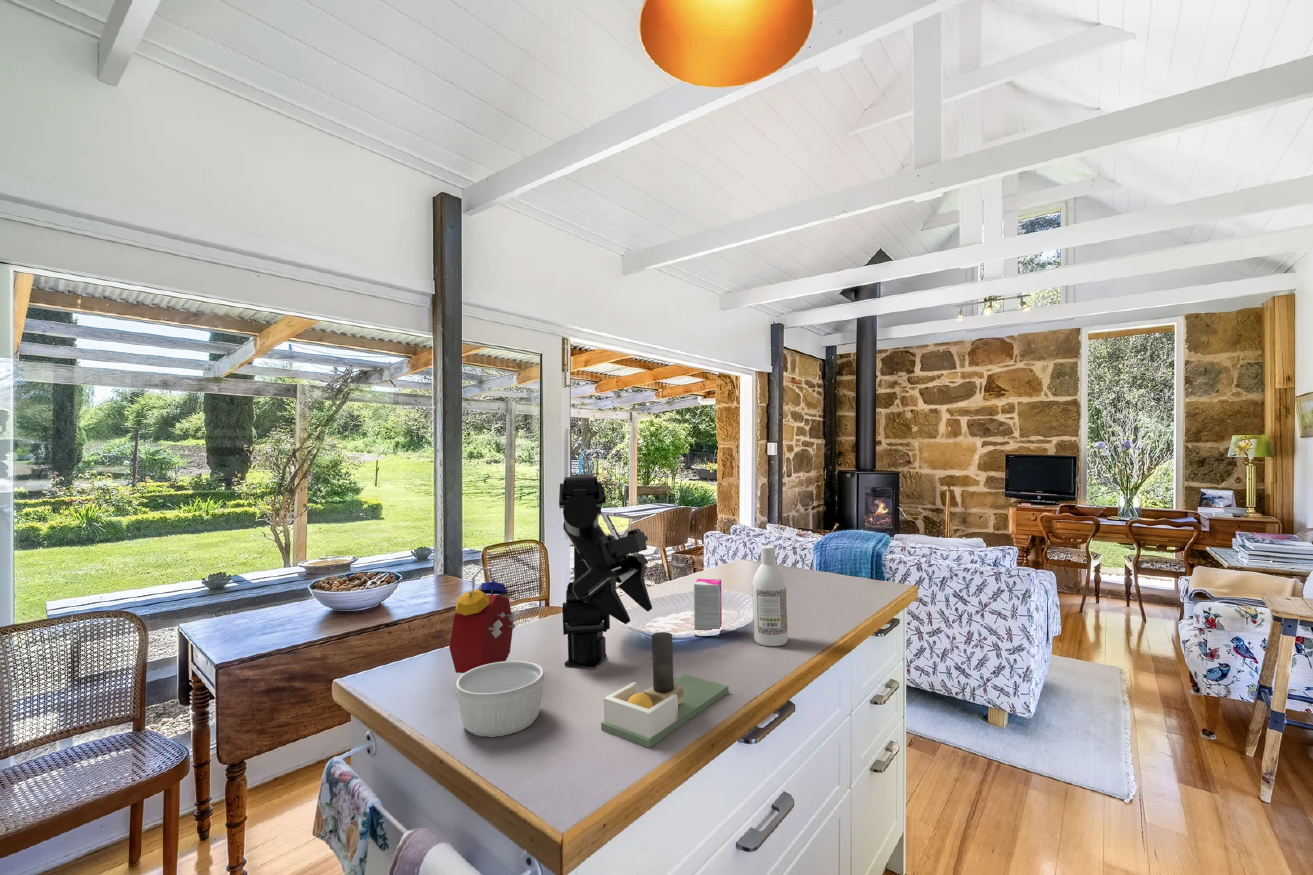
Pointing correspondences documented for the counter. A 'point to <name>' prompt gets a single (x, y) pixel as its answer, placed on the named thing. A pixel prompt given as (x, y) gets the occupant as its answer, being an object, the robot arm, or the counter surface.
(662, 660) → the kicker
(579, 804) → the counter surface
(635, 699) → the ball
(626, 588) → the robot arm
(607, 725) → the board
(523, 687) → the ramekin
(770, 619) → the bath foam
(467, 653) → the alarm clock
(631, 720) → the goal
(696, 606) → the supplement box
